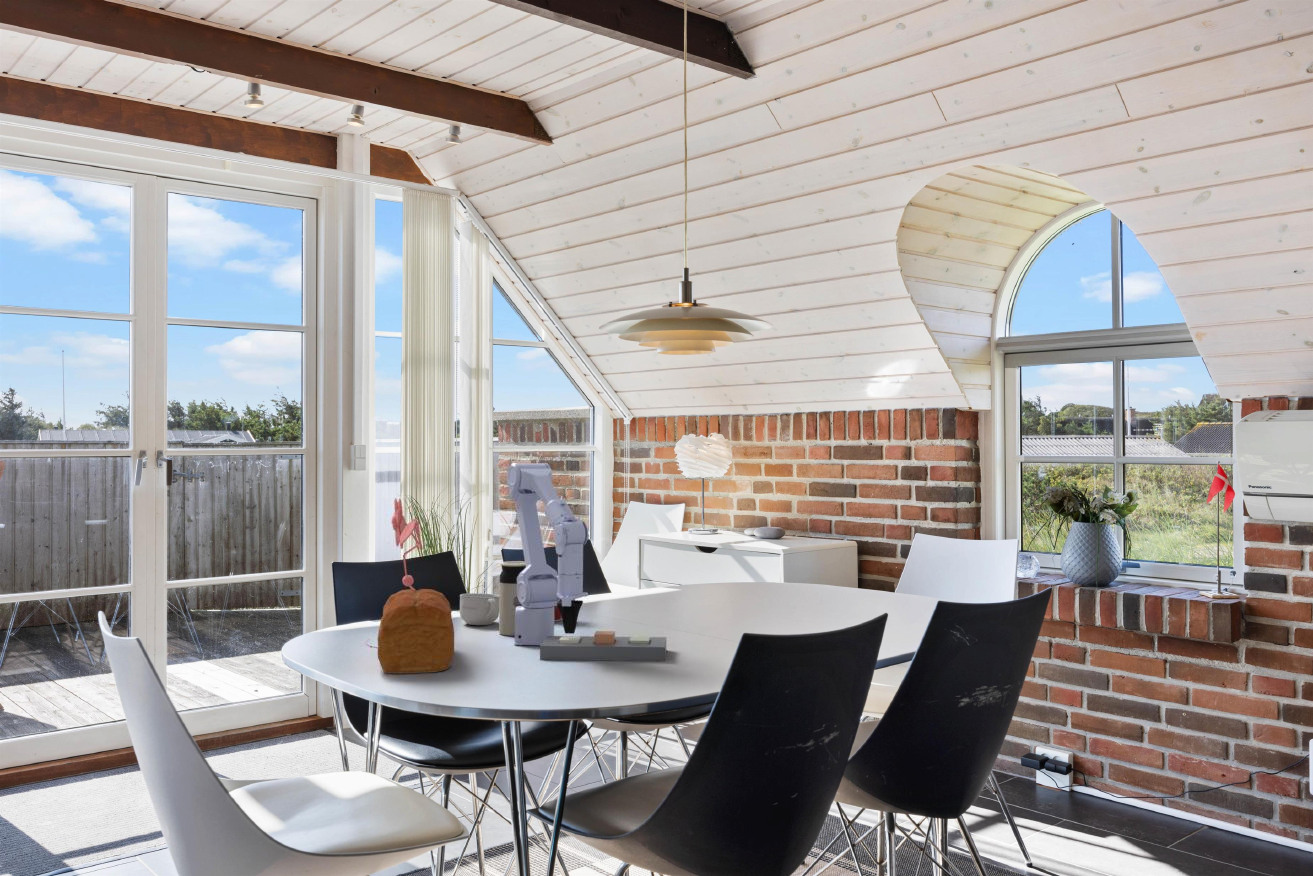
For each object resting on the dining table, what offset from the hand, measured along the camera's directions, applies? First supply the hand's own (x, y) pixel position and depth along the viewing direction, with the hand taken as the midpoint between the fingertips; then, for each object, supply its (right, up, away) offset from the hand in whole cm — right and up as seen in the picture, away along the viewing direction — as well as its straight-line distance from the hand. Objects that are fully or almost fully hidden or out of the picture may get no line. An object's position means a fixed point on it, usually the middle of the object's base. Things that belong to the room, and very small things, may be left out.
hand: (569, 633), depth 231 cm
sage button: (+16, -4, -1) cm, 17 cm away
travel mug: (-16, -5, +25) cm, 31 cm away
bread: (-33, -5, -8) cm, 35 cm away
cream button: (0, -4, 0) cm, 4 cm away
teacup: (-27, -5, +38) cm, 47 cm away
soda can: (-10, -6, +45) cm, 47 cm away
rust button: (+8, -3, 0) cm, 9 cm away
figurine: (-44, -5, +14) cm, 46 cm away
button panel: (+8, -5, 0) cm, 9 cm away
